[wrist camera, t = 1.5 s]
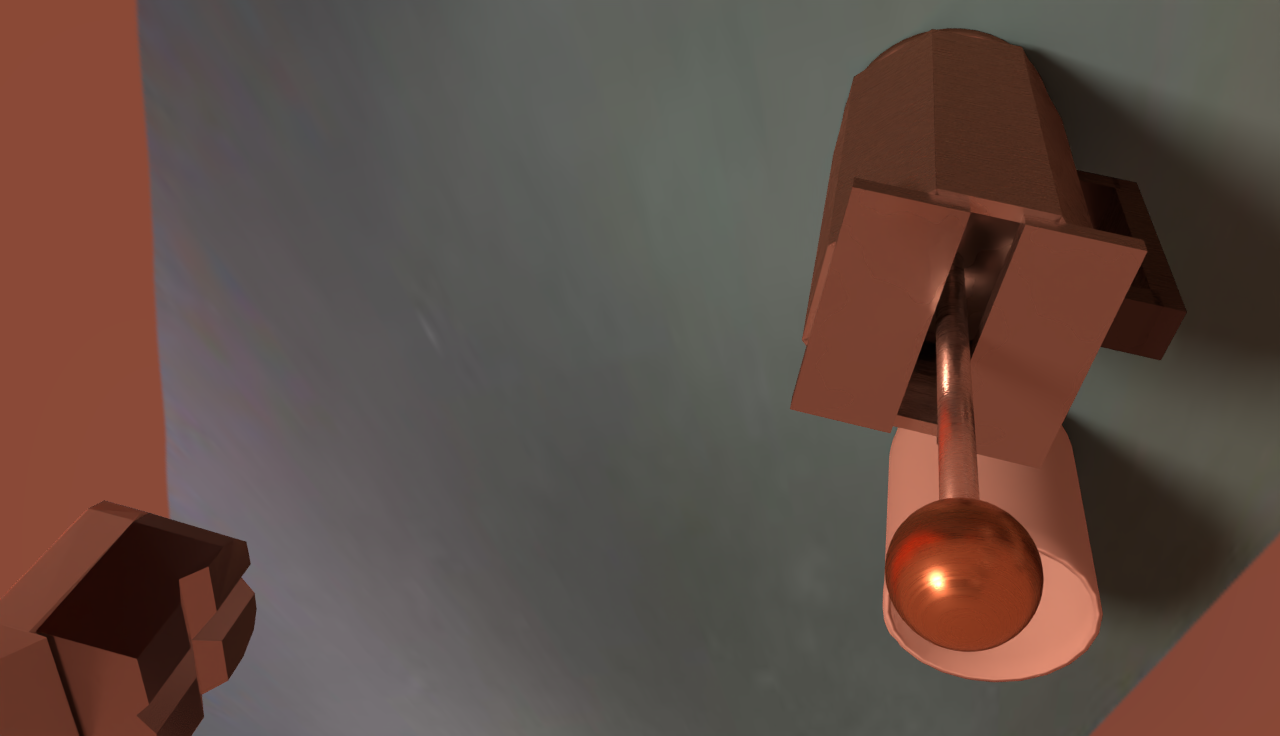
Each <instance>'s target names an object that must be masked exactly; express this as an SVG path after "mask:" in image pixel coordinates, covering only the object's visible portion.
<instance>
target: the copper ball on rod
mask: <svg viewBox="0 0 1280 736" xmlns="http://www.w3.org/2000/svg"><path fill="white" fill-rule="evenodd" d="M1019 224H1020V223H1019V222H1015V221H1010V220H1005V219H1001V218H996V217H992V216H987V215H982V214H978V213H973V212H971V213H970V216H969V219H968V221H967V224H966V227H965V230H964V232H963V235H962V238H961V241H960V243H959V246H958V249H957V252H956V254H955V257H954V260H953V263H952V265H951V268H950V271H949V273H948V276H947V279H946V282H945V284H944V287H943V290H942V293H941V295H940V298H939V301H938V304H937V306H936V309H935V312H934V315H933V317H932V320H931V323H930V326H929V328H928V331H927V334H926V336H925V339H924V340H928V341H935V342H936V364H937V415H938V465H939V500H938V501H934V502H931V503H929V504H927V505H925V506H923V507H921V508H919V509H918V510H916V511H915V512H913V513H912V514H911V515H910V516H909V517H908V518H907V519H906V520H905V521H904V522H903V523H902V524H901V525H900V526H899V528H898V529H897V531H896V532H895V534H894V536H893V538H892V540H891V542H890V545H889V548H888V551H887V554H886V561H885V580H886V585H887V590H888V593H889V597H890V599H891V601H892V603H893V605H894V608H895V609H896V611H897V612H898V614H899V615H900V617H901V618H902V620H903V621H904V622H905V623H906V624H907V625H908V626H909V627H910V628H911V629H912V630H913V631H914V632H915V633H916V634H918V635H919V636H921V637H922V638H924V639H925V640H927V641H929V642H930V643H932V644H934V645H937V646H939V647H942V648H946V649H950V650H954V651H961V652H976V651H984V650H988V649H992V648H995V647H998V646H1000V645H1002V644H1004V643H1006V642H1008V641H1009V640H1011V639H1013V638H1014V637H1016V636H1017V635H1018V634H1019V633H1020V632H1021V631H1022V630H1023V629H1024V628H1025V627H1026V626H1027V625H1028V624H1029V622H1030V621H1031V619H1032V618H1033V616H1034V615H1035V613H1036V611H1037V608H1038V606H1039V603H1040V601H1041V597H1042V592H1043V583H1044V576H1043V567H1042V562H1041V557H1040V554H1039V552H1038V549H1037V547H1036V545H1035V543H1034V541H1033V539H1032V538H1031V536H1030V535H1029V533H1028V532H1027V530H1026V529H1025V528H1024V527H1023V525H1022V524H1020V523H1019V522H1018V521H1017V520H1016V519H1015V518H1014V517H1013V516H1012V515H1010V514H1009V513H1008V512H1006V511H1004V510H1003V509H1001V508H999V507H997V506H995V505H993V504H991V503H988V502H985V501H982V500H980V497H979V482H978V467H977V451H976V436H975V421H974V406H973V391H972V376H971V361H970V346H969V340H972V339H974V337H975V334H976V332H977V329H978V327H979V324H980V322H981V319H982V317H983V314H984V312H985V309H986V307H987V304H988V302H989V299H990V297H991V294H992V292H993V289H994V287H995V284H996V282H997V279H998V277H999V274H1000V272H1001V269H1002V267H1003V264H1004V262H1005V259H1006V257H1007V254H1008V252H1009V249H1010V247H1011V244H1012V242H1013V239H1014V237H1015V234H1016V232H1017V229H1018V227H1019Z"/></svg>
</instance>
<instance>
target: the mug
mask: <svg viewBox="0 0 1280 736" xmlns="http://www.w3.org/2000/svg"><path fill="white" fill-rule="evenodd" d="M977 467H978V482H979V497H980V500H982V501H985V502H988V503H991V504H993V505H995V506H997V507H999V508H1001V509H1003V510H1004V511H1006V512H1008V513H1009V514H1010V515H1012V516H1013V517H1014V518H1015V519H1016V520H1017V521H1018V522H1019V523H1020V524H1022V525H1023V527H1024V528H1025V529H1026V530H1027V532H1028V533H1029V535H1030V536H1031V538H1032V539H1033V541H1034V543H1035V545H1036V547H1037V549H1038V552H1039V554H1040V557H1041V562H1042V567H1043V576H1044V583H1043V592H1042V597H1041V601H1040V603H1039V606H1038V608H1037V611H1036V613H1035V615H1034V616H1033V618H1032V619H1031V621H1030V622H1029V624H1028V625H1027V626H1026V627H1025V628H1024V629H1023V630H1022V631H1021V632H1020V633H1019V634H1018V635H1017V636H1016V637H1014V638H1013V639H1011V640H1009V641H1008V642H1006V643H1004V644H1002V645H1000V646H998V647H995V648H992V649H988V650H984V651H976V652H961V651H954V650H950V649H946V648H942V647H939V646H937V645H934V644H932V643H930V642H929V641H927V640H925V639H924V638H922V637H921V636H919V635H918V634H916V633H915V632H914V631H913V630H912V629H911V628H910V627H909V626H908V625H907V624H906V623H905V622H904V621H903V620H902V618H901V617H900V615H899V614H898V612H897V611H896V609H895V608H894V605H893V603H892V601H891V599H890V597H889V593H888V590H887V585H886V580H885V581H884V589H883V614H884V621H885V624H886V626H887V628H888V631H889V633H890V634H891V636H892V637H894V638H895V639H896V640H897V641H898V643H899V644H900V645H901V647H902V648H903V649H905V650H906V651H907V652H909V653H910V654H911V655H912V656H914V657H915V658H916V659H918V660H919V661H920V662H922V663H924V664H926V665H929V666H931V667H933V668H935V669H937V670H939V671H941V672H943V673H947V674H951V675H954V676H958V677H961V678H965V679H970V680H979V681H988V682H1006V681H1022V680H1026V679H1031V678H1035V677H1039V676H1044V675H1048V674H1050V673H1052V672H1054V671H1056V670H1058V669H1061V668H1063V667H1065V666H1067V665H1069V664H1071V663H1072V662H1073V661H1074V660H1076V659H1077V658H1078V657H1080V656H1081V655H1082V654H1083V653H1085V652H1086V651H1087V650H1088V649H1089V647H1090V646H1091V644H1092V643H1093V641H1094V640H1095V638H1096V637H1097V635H1098V634H1099V630H1100V625H1101V621H1102V616H1103V612H1102V607H1101V601H1100V596H1099V590H1098V585H1097V579H1096V574H1095V568H1094V563H1093V557H1092V552H1091V547H1090V541H1089V536H1088V530H1087V525H1086V519H1085V514H1084V508H1083V503H1082V497H1081V492H1080V486H1079V481H1078V476H1077V470H1076V465H1075V460H1074V454H1073V449H1072V445H1071V443H1070V440H1069V437H1068V435H1067V433H1066V431H1065V430H1064V428H1063V426H1062V425H1061V427H1060V429H1059V431H1058V433H1057V435H1056V437H1055V439H1054V441H1053V443H1052V445H1051V447H1050V449H1049V451H1048V453H1047V455H1046V457H1045V459H1044V461H1043V463H1042V465H1041V467H1040V469H1037V468H1033V467H1029V466H1025V465H1021V464H1016V463H1012V462H1008V461H1004V460H1000V459H996V458H991V457H987V456H983V455H979V454H977ZM938 500H939V465H938V445H937V436H933V435H928V434H924V433H920V432H916V431H912V430H908V429H903V428H899V427H898V429H897V431H896V434H895V436H894V439H893V441H892V445H891V450H890V457H889V480H888V505H887V530H886V554H887V551H888V548H889V545H890V542H891V540H892V538H893V536H894V534H895V532H896V531H897V529H898V528H899V526H900V525H901V524H902V523H903V522H904V521H905V520H906V519H907V518H908V517H909V516H910V515H911V514H912V513H913V512H915V511H916V510H918V509H919V508H921V507H923V506H925V505H927V504H929V503H931V502H934V501H938ZM885 561H886V555H885Z"/></svg>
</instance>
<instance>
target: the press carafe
mask: <svg viewBox="0 0 1280 736" xmlns="http://www.w3.org/2000/svg"><path fill="white" fill-rule="evenodd" d="M971 212H973V213H978V214H982V215H987V216H992V217H996V218H1001V219H1005V220H1010V221H1015V222H1019V223H1020V224H1019V227H1018V229H1017V232H1016V234H1015V237H1014V239H1013V242H1012V244H1011V247H1010V249H1009V252H1008V254H1007V257H1006V259H1005V262H1004V264H1003V267H1002V269H1001V272H1000V274H999V277H998V279H997V282H996V284H995V287H994V289H993V292H992V294H991V297H990V299H989V302H988V304H987V307H986V309H985V312H984V314H983V317H982V319H981V322H980V324H979V327H978V329H977V332H976V334H975V337H974V339H972V340H969V346H970V361H971V376H972V391H973V406H974V421H975V436H976V451H977V454H979V455H983V456H987V457H991V458H996V459H1000V460H1004V461H1008V462H1012V463H1016V464H1021V465H1025V466H1029V467H1033V468H1037V469H1040V467H1041V465H1042V463H1043V461H1044V459H1045V457H1046V455H1047V453H1048V451H1049V449H1050V447H1051V445H1052V443H1053V441H1054V439H1055V437H1056V435H1057V433H1058V431H1059V429H1060V427H1061V425H1062V423H1063V421H1064V419H1065V417H1066V415H1067V413H1068V411H1069V409H1070V407H1071V405H1072V403H1073V401H1074V399H1075V397H1076V395H1077V393H1078V391H1079V389H1080V387H1081V385H1082V383H1083V381H1084V379H1085V377H1086V375H1087V373H1088V371H1089V369H1090V366H1091V364H1092V362H1093V360H1094V358H1095V356H1096V354H1097V352H1098V350H1099V348H1100V347H1104V348H1109V349H1113V350H1117V351H1122V352H1126V353H1131V354H1135V355H1139V356H1144V357H1148V358H1153V359H1157V360H1161V359H1162V357H1163V355H1164V353H1165V351H1166V350H1167V348H1168V346H1169V344H1170V342H1171V340H1172V339H1173V337H1174V335H1175V333H1176V331H1177V329H1178V328H1179V326H1180V324H1181V322H1182V320H1183V318H1184V317H1185V315H1186V313H1187V311H1186V308H1185V306H1184V303H1183V301H1182V298H1181V295H1180V293H1179V290H1178V288H1177V285H1176V283H1175V280H1174V277H1173V275H1172V272H1171V270H1170V267H1169V265H1168V262H1167V259H1166V257H1165V254H1164V252H1163V249H1162V247H1161V244H1160V241H1159V239H1158V236H1157V234H1156V231H1155V229H1154V226H1153V223H1152V221H1151V218H1150V216H1149V213H1148V211H1147V208H1146V205H1145V203H1144V200H1143V198H1142V195H1141V193H1140V190H1139V187H1138V185H1137V183H1136V182H1131V181H1127V180H1122V179H1117V178H1113V177H1108V176H1103V175H1098V174H1094V173H1089V172H1084V171H1079V170H1076V167H1075V163H1074V160H1073V156H1072V153H1071V149H1070V146H1069V142H1068V139H1067V135H1066V132H1065V128H1064V125H1063V121H1062V119H1061V117H1060V115H1059V113H1058V112H1057V110H1056V108H1055V106H1054V104H1053V102H1052V101H1051V99H1050V97H1049V95H1048V93H1047V91H1046V87H1045V85H1044V83H1043V81H1042V79H1041V76H1040V75H1039V73H1038V72H1037V70H1036V68H1035V67H1034V65H1033V64H1032V63H1031V62H1030V61H1029V59H1028V57H1027V56H1026V54H1025V52H1024V50H1023V48H1022V47H1021V46H1016V45H1011V44H1009V43H1007V42H1006V41H1004V40H1002V39H1000V38H998V37H995V36H993V35H991V34H988V33H984V32H980V31H977V30H970V29H962V28H946V29H938V30H936V29H931V30H930V31H928V32H924V33H920V34H917V35H914V36H912V37H909V38H906V39H904V40H902V41H900V42H899V43H897V44H895V45H893V46H891V47H890V48H889V49H887V50H886V51H884V52H883V53H881V54H880V55H879V56H878V57H877V58H876V59H875V60H874V61H872V62H871V63H870V64H869V66H868V67H867V68H866V69H865V70H864V71H862V72H861V73H859V74H857V75H856V76H854V78H853V82H852V85H851V89H850V93H849V97H848V100H847V103H846V106H845V109H844V114H843V119H842V123H841V127H840V131H839V135H838V138H837V142H836V146H835V150H834V154H833V159H832V165H831V171H830V177H829V183H828V189H827V195H826V201H825V207H824V212H823V218H822V224H821V230H820V236H819V242H818V248H817V254H816V260H815V266H814V272H813V278H812V283H811V289H810V295H809V301H808V307H807V313H806V319H805V325H804V331H803V337H802V341H803V342H804V343H805V345H806V349H805V353H804V357H803V360H802V364H801V367H800V371H799V374H798V378H797V381H796V385H795V389H794V392H793V396H792V401H791V407H790V409H792V410H796V411H800V412H804V413H808V414H813V415H817V416H821V417H825V418H829V419H833V420H837V421H842V422H846V423H850V424H854V425H858V426H862V427H867V428H871V429H875V430H879V431H883V432H887V433H890V432H891V430H892V427H893V426H895V427H899V428H903V429H908V430H912V431H916V432H920V433H924V434H928V435H933V436H937V445H938V415H937V364H936V342H935V341H928V340H924V339H925V336H926V334H927V331H928V328H929V326H930V323H931V320H932V317H933V315H934V312H935V309H936V306H937V304H938V301H939V298H940V295H941V293H942V290H943V287H944V284H945V282H946V279H947V276H948V273H949V271H950V268H951V265H952V263H953V260H954V257H955V254H956V252H957V249H958V246H959V243H960V241H961V238H962V235H963V232H964V230H965V227H966V224H967V221H968V219H969V216H970V213H971Z"/></svg>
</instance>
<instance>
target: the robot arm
mask: <svg viewBox="0 0 1280 736" xmlns="http://www.w3.org/2000/svg"><path fill="white" fill-rule="evenodd" d="M250 564H251V563H250V558H249V553H248V548H247V542H245V541H242V540H239V539H235V538H232V537H229V536H225V535H222V534H219V533H215V532H212V531H208V530H205V529H202V528H198V527H195V526H192V525H188V524H185V523H181V522H178V521H175V520H171V519H168V518H164V517H161V516H158V515H154V514H152V513H148V512H144V511H140V510H137V509H133V508H130V507H126V506H123V505H119V504H115V503H112V502H108V501H102V502H101V503H99V504H97V505H94V506H92V507H90V508H88V509H87V510H86V511H85V512H84V513H83V514H82V515H81V516H80V517H79V518H78V519H77V520H76V521H75V522H74V523H73V524H72V525H71V526H70V527H69V528H68V529H67V530H66V531H65V532H64V533H63V534H62V535H61V536H60V537H59V539H57V541H56V542H55V543H54V544H53V545H52V546H51V547H50V548H49V549H48V550H47V551H46V552H45V553H44V554H43V555H42V556H41V557H40V558H39V559H38V560H37V561H36V562H35V563H34V564H33V566H31V568H30V569H29V570H28V571H27V572H26V573H25V574H24V575H23V576H22V577H21V578H20V579H19V580H18V581H17V582H16V583H15V584H14V585H13V586H12V587H11V588H10V589H9V590H8V591H7V592H6V593H5V595H4V596H3V597H2V598H1V599H0V736H192V734H193V733H194V731H195V730H196V728H197V727H198V725H199V724H200V722H201V721H202V719H203V718H204V711H203V701H202V694H204V693H206V692H207V691H209V690H211V689H213V688H215V687H217V686H219V685H221V684H222V683H224V682H226V681H228V680H229V678H230V677H231V675H232V674H233V672H234V670H235V669H236V667H237V666H238V664H239V663H240V661H241V659H242V658H243V656H244V653H245V651H246V648H247V646H248V643H249V641H250V638H251V635H252V633H253V630H254V625H255V617H256V600H255V593H254V592H253V591H252V589H251V588H250V587H249V586H248V585H247V584H246V582H245V581H244V580H243V579H242V578H241V577H242V575H243V574H244V573H245V571H246V570H247V568H248V567H249V566H250Z"/></svg>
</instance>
